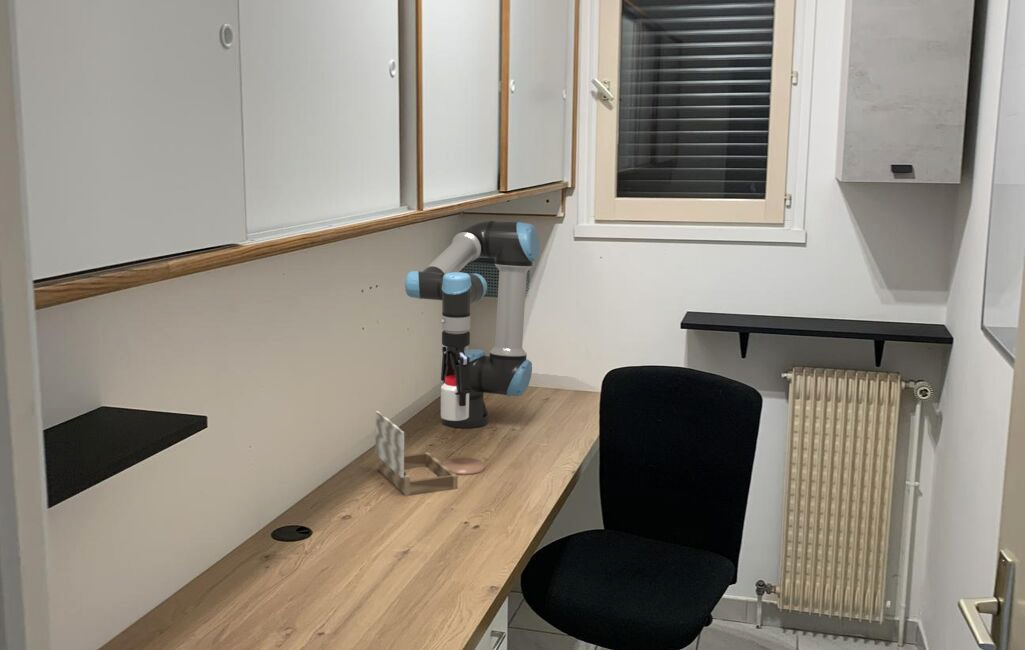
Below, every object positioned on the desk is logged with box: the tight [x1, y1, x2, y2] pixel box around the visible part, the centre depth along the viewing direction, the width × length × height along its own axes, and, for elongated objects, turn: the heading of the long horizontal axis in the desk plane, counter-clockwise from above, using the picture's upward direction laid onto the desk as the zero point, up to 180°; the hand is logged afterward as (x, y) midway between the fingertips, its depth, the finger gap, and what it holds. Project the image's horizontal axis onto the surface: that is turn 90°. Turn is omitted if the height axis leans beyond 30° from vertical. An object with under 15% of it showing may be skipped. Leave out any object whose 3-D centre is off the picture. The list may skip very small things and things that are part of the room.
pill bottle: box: [440, 375, 469, 421], centre depth 265 cm, size 8×8×11 cm
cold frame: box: [374, 410, 459, 497], centre depth 259 cm, size 20×16×17 cm
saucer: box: [442, 457, 486, 476], centre depth 271 cm, size 12×12×1 cm
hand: (454, 412), depth 266 cm, fingers closed on pill bottle, 8 cm apart
